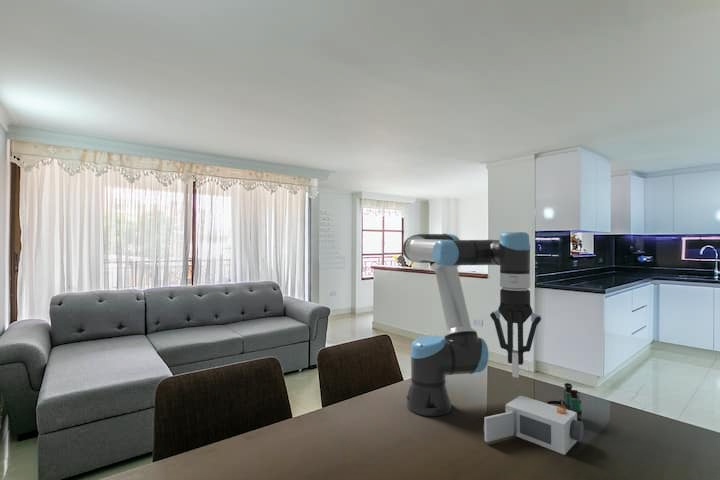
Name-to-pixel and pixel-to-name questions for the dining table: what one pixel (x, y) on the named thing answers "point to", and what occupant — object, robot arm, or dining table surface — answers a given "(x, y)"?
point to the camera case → (546, 424)
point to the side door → (500, 426)
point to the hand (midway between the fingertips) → (515, 375)
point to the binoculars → (570, 401)
